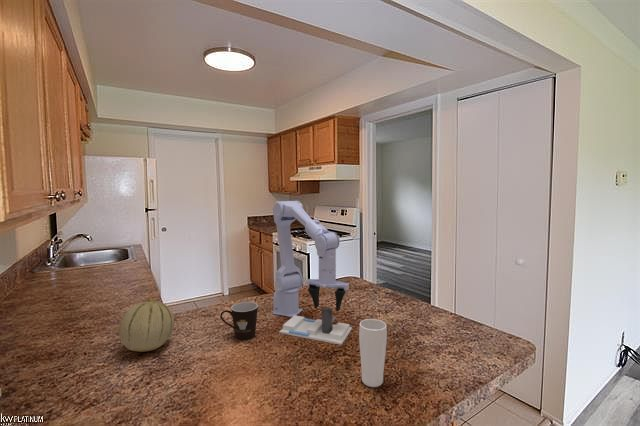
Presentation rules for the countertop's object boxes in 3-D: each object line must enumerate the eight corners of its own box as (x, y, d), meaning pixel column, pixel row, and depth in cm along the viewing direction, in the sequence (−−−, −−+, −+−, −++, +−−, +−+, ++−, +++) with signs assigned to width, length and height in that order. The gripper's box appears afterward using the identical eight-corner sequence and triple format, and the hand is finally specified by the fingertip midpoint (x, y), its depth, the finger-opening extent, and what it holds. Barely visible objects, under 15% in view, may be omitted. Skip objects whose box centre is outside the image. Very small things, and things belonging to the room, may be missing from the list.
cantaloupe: (117, 367, 85) (114, 314, 84) (122, 344, 98) (120, 297, 97) (176, 354, 92) (174, 304, 91) (174, 333, 105) (172, 290, 104)
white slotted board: (279, 333, 106) (279, 326, 105) (295, 319, 117) (295, 313, 116) (341, 344, 97) (341, 338, 97) (352, 328, 108) (352, 322, 108)
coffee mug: (263, 333, 106) (263, 304, 105) (247, 344, 98) (246, 313, 97) (236, 326, 110) (235, 299, 110) (218, 337, 103) (218, 307, 102)
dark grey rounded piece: (320, 332, 104) (320, 310, 104) (330, 320, 114) (330, 300, 113) (330, 334, 103) (330, 312, 103) (339, 322, 112) (339, 302, 112)
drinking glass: (387, 376, 81) (388, 320, 80) (384, 392, 74) (384, 331, 73) (361, 371, 83) (362, 317, 82) (356, 387, 77) (356, 327, 75)
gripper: (302, 269, 103) (302, 309, 104) (344, 274, 97) (344, 316, 98) (310, 265, 109) (311, 302, 110) (350, 268, 104) (350, 308, 105)
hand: (327, 308), depth 105 cm, fingers open, 7 cm apart
